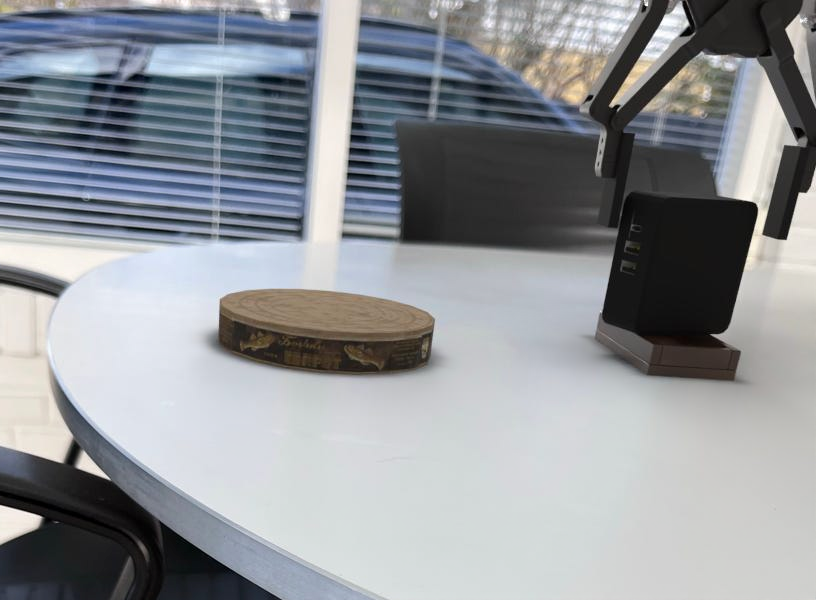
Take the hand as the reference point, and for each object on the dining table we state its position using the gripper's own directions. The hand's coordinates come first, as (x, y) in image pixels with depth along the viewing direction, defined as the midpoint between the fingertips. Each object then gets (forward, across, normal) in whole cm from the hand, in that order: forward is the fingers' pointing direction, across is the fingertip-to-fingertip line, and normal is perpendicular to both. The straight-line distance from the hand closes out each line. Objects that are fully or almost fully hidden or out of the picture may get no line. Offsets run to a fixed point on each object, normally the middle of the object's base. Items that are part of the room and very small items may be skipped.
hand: (691, 232), depth 82 cm
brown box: (+10, 0, 0) cm, 10 cm away
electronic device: (+8, 0, 0) cm, 8 cm away
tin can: (+10, -28, -5) cm, 30 cm away
